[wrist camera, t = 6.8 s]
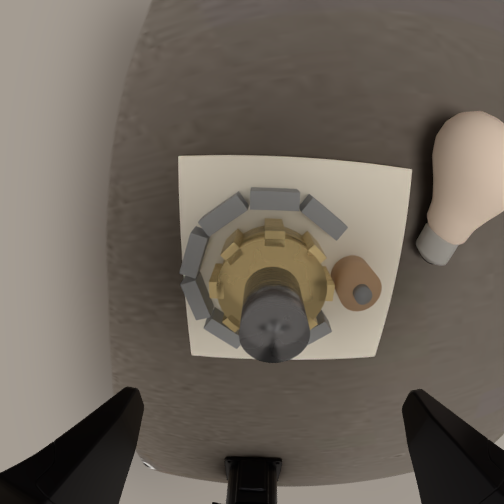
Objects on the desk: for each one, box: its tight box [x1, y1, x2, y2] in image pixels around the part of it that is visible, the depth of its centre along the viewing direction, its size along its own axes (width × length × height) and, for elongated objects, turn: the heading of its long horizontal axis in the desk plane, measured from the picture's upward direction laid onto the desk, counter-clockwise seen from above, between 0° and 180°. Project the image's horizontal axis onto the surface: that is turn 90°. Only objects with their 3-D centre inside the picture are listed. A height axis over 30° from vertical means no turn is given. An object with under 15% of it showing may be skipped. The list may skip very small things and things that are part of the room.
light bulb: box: [416, 111, 504, 265], centre depth 14 cm, size 7×7×11 cm
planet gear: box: [209, 218, 335, 363], centre depth 15 cm, size 7×7×7 cm
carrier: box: [178, 155, 412, 360], centre depth 17 cm, size 14×14×4 cm
